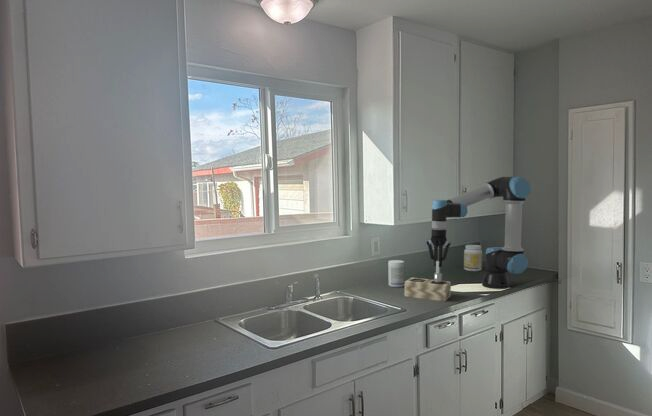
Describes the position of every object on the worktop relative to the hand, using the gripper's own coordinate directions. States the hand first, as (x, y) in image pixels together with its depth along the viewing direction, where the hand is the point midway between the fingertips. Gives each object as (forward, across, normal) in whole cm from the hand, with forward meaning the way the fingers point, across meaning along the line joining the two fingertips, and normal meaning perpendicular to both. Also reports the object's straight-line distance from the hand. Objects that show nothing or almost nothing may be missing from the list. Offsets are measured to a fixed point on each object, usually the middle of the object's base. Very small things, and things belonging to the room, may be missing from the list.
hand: (437, 272), depth 248 cm
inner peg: (+8, 0, 0) cm, 8 cm away
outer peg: (+14, -11, 0) cm, 17 cm away
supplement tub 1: (+14, -28, +15) cm, 35 cm away
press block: (+13, -5, 0) cm, 14 cm away
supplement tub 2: (+13, +3, +86) cm, 87 cm away
